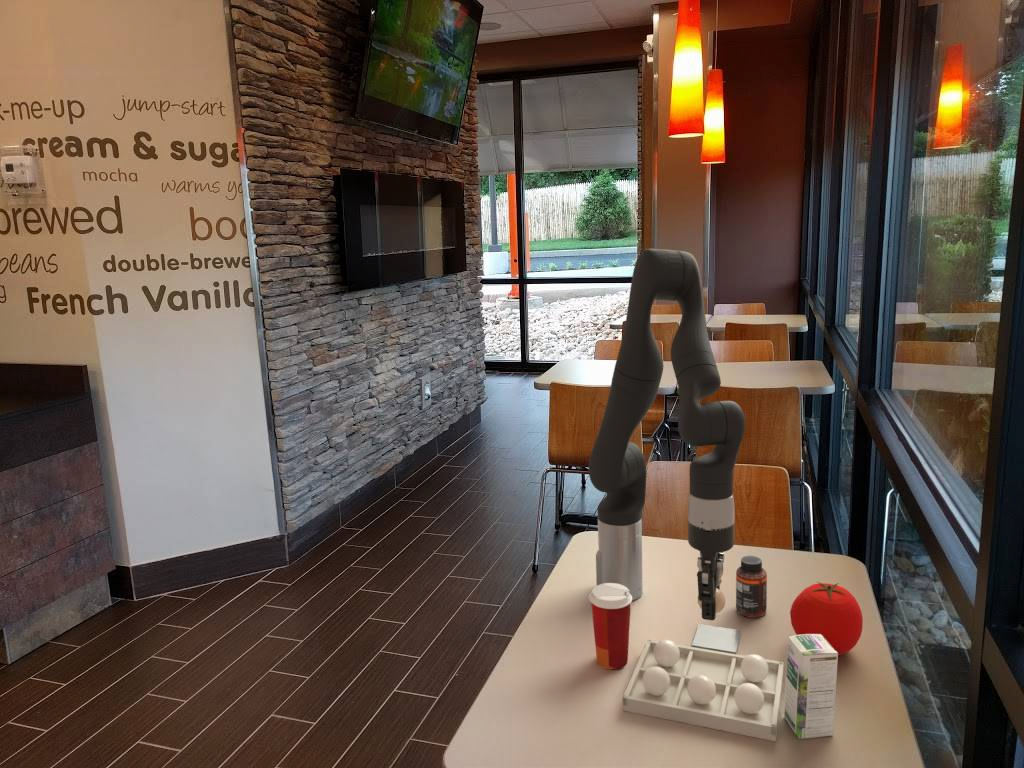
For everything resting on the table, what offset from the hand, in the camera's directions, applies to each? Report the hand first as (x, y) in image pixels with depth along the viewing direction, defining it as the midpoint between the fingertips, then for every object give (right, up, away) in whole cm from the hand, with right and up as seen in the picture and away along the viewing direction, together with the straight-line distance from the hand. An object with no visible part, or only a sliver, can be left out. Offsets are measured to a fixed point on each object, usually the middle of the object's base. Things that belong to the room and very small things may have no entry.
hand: (710, 611), depth 133 cm
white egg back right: (+7, -9, -1) cm, 12 cm away
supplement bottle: (+14, -7, +24) cm, 29 cm away
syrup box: (+13, -15, -11) cm, 23 cm away
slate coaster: (+5, -10, +14) cm, 18 cm away
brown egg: (0, +2, 0) cm, 2 cm away
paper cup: (-16, -12, +9) cm, 22 cm away
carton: (-1, -13, -1) cm, 13 cm away
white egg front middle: (-3, -11, -6) cm, 13 cm away
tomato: (+23, -10, +10) cm, 27 cm away
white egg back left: (-7, -9, +5) cm, 12 cm away
